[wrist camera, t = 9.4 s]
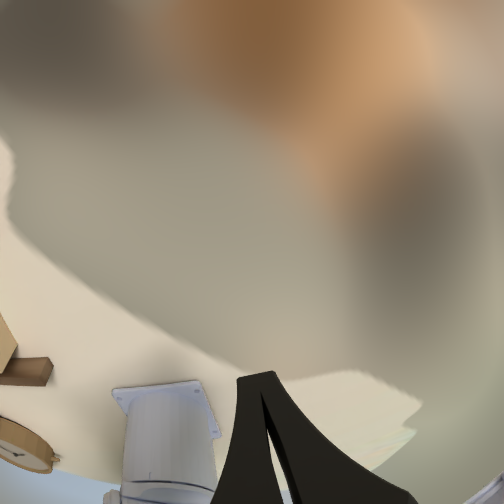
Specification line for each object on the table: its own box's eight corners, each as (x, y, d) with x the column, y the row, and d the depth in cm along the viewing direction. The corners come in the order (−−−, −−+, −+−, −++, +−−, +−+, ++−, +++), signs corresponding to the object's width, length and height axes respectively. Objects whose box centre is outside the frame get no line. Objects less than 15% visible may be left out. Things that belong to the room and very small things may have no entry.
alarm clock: (42, 478, 25) (-45, 438, 17) (42, 451, 29) (-40, 411, 20) (65, 467, 23) (-43, 419, 15) (65, 435, 27) (-35, 385, 19)
